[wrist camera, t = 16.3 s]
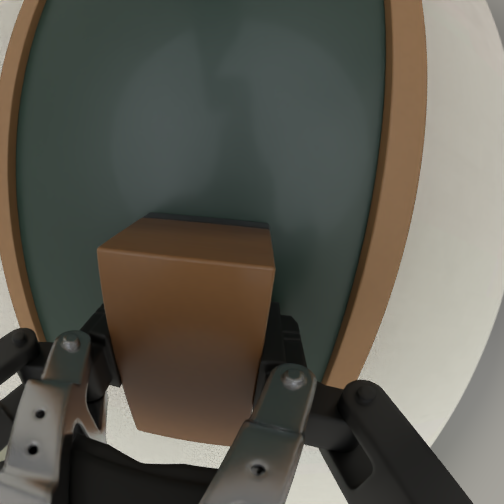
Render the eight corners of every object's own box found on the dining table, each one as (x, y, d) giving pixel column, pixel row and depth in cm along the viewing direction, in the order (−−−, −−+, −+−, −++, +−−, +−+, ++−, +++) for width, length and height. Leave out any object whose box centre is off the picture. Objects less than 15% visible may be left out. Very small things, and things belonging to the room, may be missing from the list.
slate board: (57, -29, 6) (42, -38, 4) (397, -37, 6) (411, -52, 4) (40, 331, 14) (26, 346, 12) (340, 377, 14) (347, 400, 13)
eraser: (149, 211, 10) (94, 247, 6) (269, 222, 10) (276, 267, 6) (159, 369, 13) (136, 430, 9) (248, 381, 13) (245, 448, 9)
